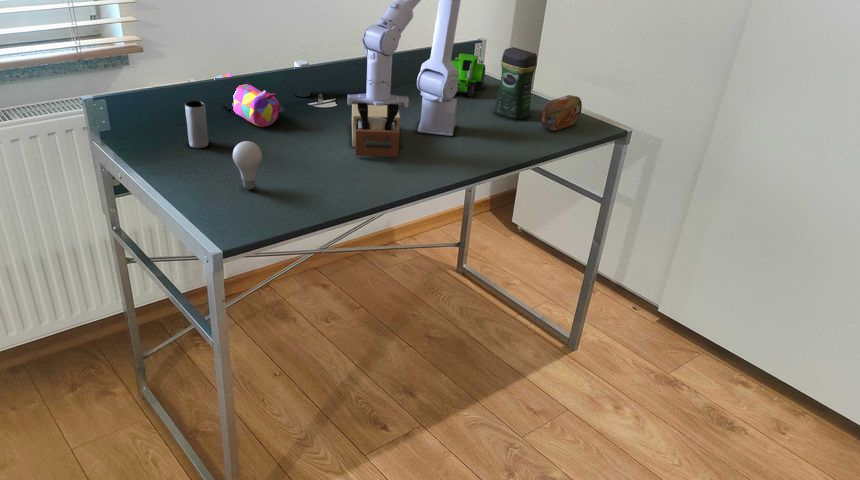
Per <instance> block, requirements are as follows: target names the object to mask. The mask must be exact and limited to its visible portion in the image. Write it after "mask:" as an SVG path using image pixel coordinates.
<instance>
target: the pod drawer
mask: <svg viewBox="0 0 860 480" xmlns="http://www.w3.org/2000/svg"><path fill="white" fill-rule="evenodd" d="M399 147H400V130H399V131H396V127H395V121H394V120H393V123H392V125H391V128H390V130H386V124H385V130H369V122H368V130H365V129H364V124H363V121H362V119H358V126H357V129H356V147H354V149H355V152H354V153H355V156H356V157H357V156H358V157H359V156H361V157H364V156H365V157H394V158H395V157H396V158H399V149H400V148H399Z"/></svg>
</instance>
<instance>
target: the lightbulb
mask: <svg viewBox="0 0 860 480" xmlns="http://www.w3.org/2000/svg"><path fill="white" fill-rule="evenodd" d="M262 159H263V153H262V150H261V148H260V146H259V145H257V144H256V143H255V142H253V141H250V140H243V141H241V142H239V143H237V144H236V145H235V147H234V148H233V151H232V160H233V162H234V164H235V165H236V167H237V168H238V170H239V172H240V178H241V180H242V185H243V188H244V189H246V190H249V191H250V190H253V189H254V188H255V187H256V178H257V171H258V169H259V167H260V164H261V162H262Z"/></svg>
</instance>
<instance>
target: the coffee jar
mask: <svg viewBox="0 0 860 480" xmlns="http://www.w3.org/2000/svg"><path fill="white" fill-rule="evenodd" d="M500 66H501V75H500V76H501V77H500V82H499V88H498V91H497V97H496V101H495V106H494V107H495V109H494V111H495V113H496V114H498V115H500V116H503V117H505V118H509V119H512V120H523V119H526V118H527V117H529V115H530V111H531V97H532V85H533V77H534V73H535V71H536V69H537V67H538V55H537V53H536V52H532V51H528V50H526V49H525V50H524V49H521V48H517V47H515V46H512V47H508V48H505V49H504V50H503V53H502V57H501V61H500Z"/></svg>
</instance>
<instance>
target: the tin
mask: <svg viewBox="0 0 860 480" xmlns="http://www.w3.org/2000/svg"><path fill="white" fill-rule="evenodd" d="M582 103H583V102H582V99H581V98H580V97H579V96H577V95H571V94H568V95H564V96H561V97H557V98H553V99H551V100H549V101H548V102H547V103H546V104H545V105H544V107H543V109H542V112H541V118H540V119H541V121H540V123H541V126H542V127H543V128H544V129H546V130H549V131H551V132H555V131H556V132H557V131H559V130H561V129H564V128H569V127H571V126H573V125H574V124H575V123H576V122H577V121H578V120H579V118H580V116H581V114H582V109H583V105H582Z"/></svg>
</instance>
